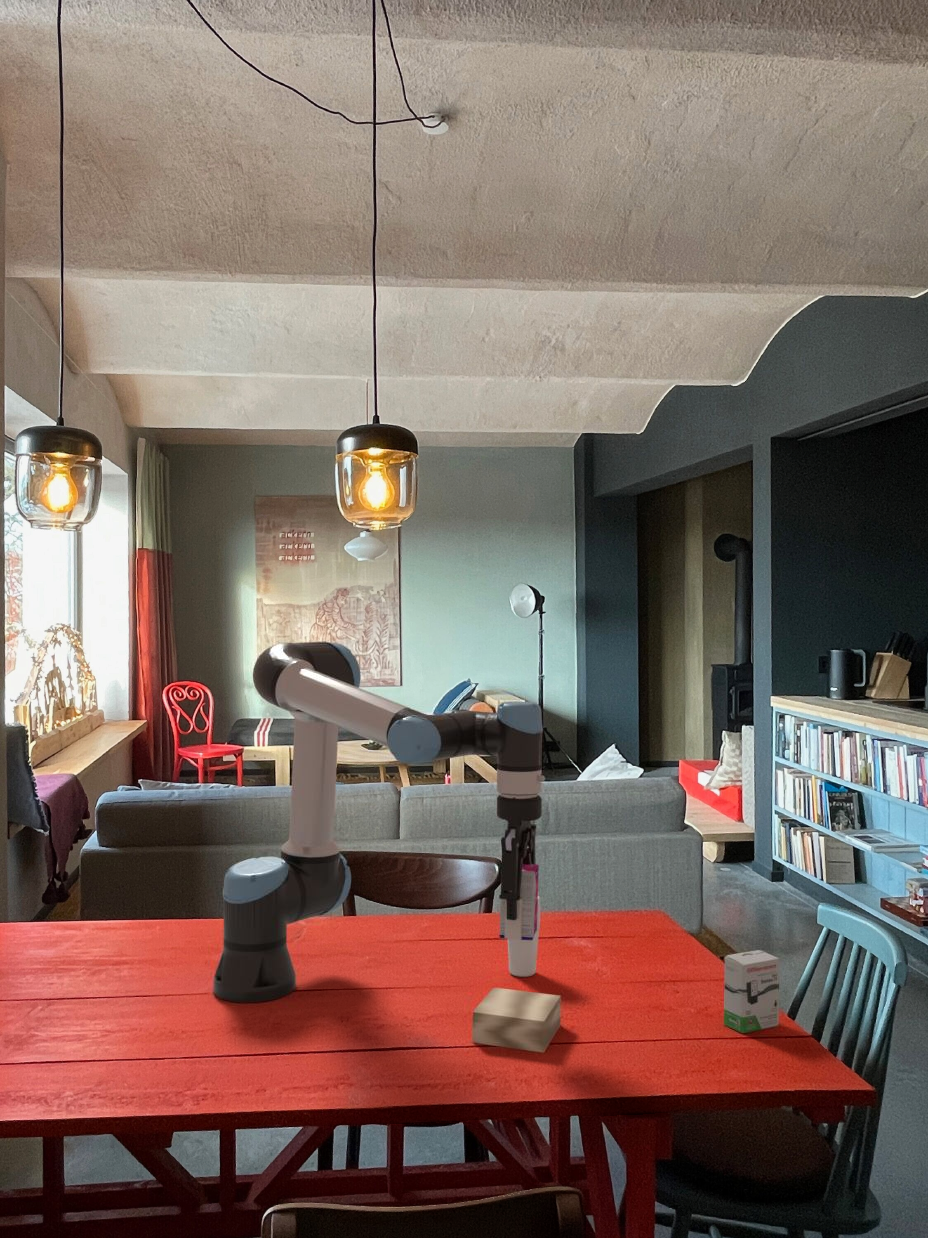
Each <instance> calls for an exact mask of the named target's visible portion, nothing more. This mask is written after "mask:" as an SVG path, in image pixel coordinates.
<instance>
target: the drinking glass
mask: <svg viewBox="0 0 928 1238" xmlns="http://www.w3.org/2000/svg"><path fill="white" fill-rule="evenodd" d="M540 921H541V898H540V896H539V895H538V910H537V931H536V933H535V935H534V937H533V940H517V939H506V940H507V941H506V942H507V952H508V953H507V957H508V972H509V973H510V975H512V976H514V977H520V978H526V977H531V976H533V975H535V974H536V971H537V957H538V956H537V955H538V944H539V935H540V934H539V933H540V925H541V924H540V923H541V922H540Z"/></svg>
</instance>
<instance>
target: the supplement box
mask: <svg viewBox="0 0 928 1238" xmlns="http://www.w3.org/2000/svg"><path fill="white" fill-rule="evenodd" d="M539 868H540V866H539V864H523V865H522V877H521V889H520V899H522V939H521V940H533V937H534V935H535V933H536V931H537V910H538V896H539ZM499 902H500V906H499V907H500V910H499V936H498V938H499V939H503V940H504V939H505V940H507V939H508V938H505V899H500V901H499ZM517 940H518V939H517Z"/></svg>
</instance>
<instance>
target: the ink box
mask: <svg viewBox="0 0 928 1238" xmlns="http://www.w3.org/2000/svg"><path fill="white" fill-rule="evenodd" d="M780 960H781V959H780V958H778V957H777V956H775V955H772V954H769V953H768V952H766V951H764V950H760V949H757V950H751V951H746V952H743V951H742V952H738V953H733V954H727V955H726V956H725V957H724V990H723V991H724V992H723V993H724V994H723V996H724V997H723V1009H724V1010H723V1026H726V1027H728V1028H730V1029H732V1030H735V1031H736V1032H738V1033H741V1034H748V1033H752V1032H756V1031H760V1030H761V1031H762V1030H765V1029H769V1028H773V1027H778V1026H779V1025H780V1024H779V1022H780V1021H779V1019H780V976H781V975H780V972H781V970H780V968H781V967H780V966H781V964H780V962H781V961H780Z"/></svg>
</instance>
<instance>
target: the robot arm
mask: <svg viewBox="0 0 928 1238" xmlns="http://www.w3.org/2000/svg"><path fill="white" fill-rule="evenodd" d="M252 671H253V672H252V679H253V684H254V685H253V686H254V687H255V690H256V692H257V693H258V695H259V696H260V697H261V698H262V699H263V700H265V701H266V702H268V703H269V704H271V705H273V706H275V707H277V708H280V709H282V710H284V711H287V712H289V714H290V715H291V716H292V717H293V719H294V725H293V726H294V729H293V747H292V748H293V751H292V753H293V754H292V775H291V791H290V792H291V795H290V814H289V815H290V816H289V817H290V819H289V821H290V823H289V838H288V840H287V841H286V842H284V844H282V845H281V847H280V857H278V856H260V857H258V858H257V857H252V858H247V859H246V860H245V859H244V860H241V861H239V862H236V863H235V864H233V865H232V866H230V867H229V868H228V869H227V870H226V872H225V875H224V881H223V889H222V898H223V899H222V900H223V932H222V933H223V934H222V936H223V942H222V943H223V944H222V945H223V946H222V952H221V954H220V958H219V961H218V965H217V966H216V970H215V973H214V977H213V982H212V983H213V989H212V990H213V994H214V995H215V996H216V997H218V998H220V999H222V1000H224V1001H230V1002H234V1003H261V1002H268V1001H272V1000H276V999H280V998H283V997H285V996H287V995H289V994H291V993H292V992H293V991H294V990H295V989H296V987H297V985H296V984H297V981H296V980H297V979H296V978H297V976H296V970H295V968H294V965H293V961H292V959H291V955H290V951H289V948H288V944H287V943H288V941H287V937H288V936H287V935H288V932H287V928H288V925H289V924H293V923H296V922H300V921H303V920H307V919H310V918H312V917H313V918H314V917H317V916H323V915H325V914H327V913H329V912H330V911H333V910H335V909H337V908H339V907H340V906H341V905H342V904H343V903H344V902H345V901H346V898H347V896H348V895H349V892H350V891H351V890H350V889H351V884H352V874H351V872H352V871H351V868H350V866H348V861H347V859H346V858H345V857H344V856H343V854H341V846H339V845H338V844H337V842H336V841H335V840H334V828H335V808H336V807H335V805H336V804H335V803H336V788H337V787H336V783H337V762H338V743H339V740H338V739H339V728H341V729H344V730H346V731H348V732H350V733H352V734H354V735H357V736H359V737H362V738H365V739H366V740H369V741H371V742H374V743H376V744H378V745H381V746H383V747H386V748H388V750H389V752H390V753H391V755H392V756H393V757H394V759H395V760H396V761H398V762H399V763H401V764H404V765H423V764H426V763H428V762H435V761H440V760H446V759H453V758H454V759H455V758H459V757H460V758H461V757H465V756H485V757H487V756H488V757H496V764H497V766H496V792H497V793H498V794H499V795H497V796H496V816H497V818H499V819H501V820H502V821H503V820H504V821H506V822H507V828H506V829H505V830H504V836H502V837H501V838H500V844H501V845H500V847H501V867H500V868H501V872H500V873H501V874H500V876H501V877H500V894H499V900H501V899H505V938H508V939H518V940H521V939H522V899H520V889H521V877H522V865H523V864H536V834H537V824H535V823H532V822H533V821H537V820H539V819H541V817H542V814H543V813H542V812H543V811H542V810H543V809H542V805H543V804H542V803H543V802H542V801H543V798H542V797H541V795H539V794H540V793H541V792H542V786H543V785H542V782H545V780H546V777H545V775H542V773H543V772H542V765H543V764H542V747H543V745H542V744H543V732H544V727H543V720H542V708H541V706H540V704H538V703H537V702H532V701H503V702H499V703H498V705H497V709H496V711H495V712H488V711H477V710H469V709H465V708H462V709H449V710H446V711H445V712H443V713H438V714H427V713H423V712H420V711H418V710H415V709H412V708H410V707H408V706H406V705H404V704H401V703H399V702H395V701H393V700H391V699H388V698H387V697H383V696H380V695H378V694H375V693H374V692H373V693H372V692H370V691H368V690H365V689H362V688H360V684H361V676H362V675H361V668H360V664H359V662H358V660H357V658H356V656H355V655H354V654H353V653H352V651H351V649H349V648H348V647H347V646H345V645H344V644H343V643H338V642H332V641H331V642H329V641H326V640H325V641H308V642H307V641H305V642H280V643H277V644H273V645H271V646H269V647H267V648H266V649H265V650H264V651H262V652H261V654H260V655H259V656H258V657H257V659H256V660H255V663H254V667H253V669H252ZM536 865H537V864H536Z"/></svg>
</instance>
